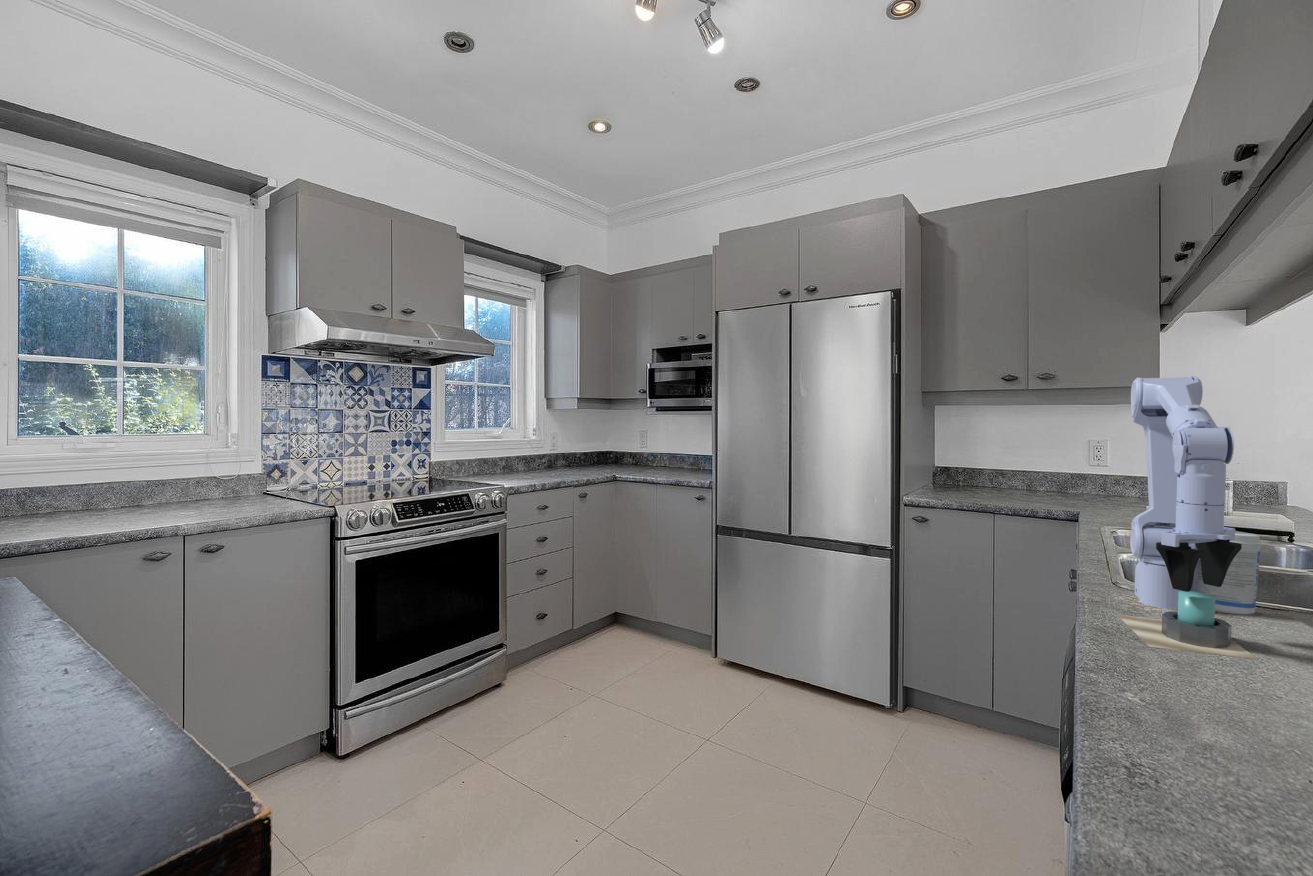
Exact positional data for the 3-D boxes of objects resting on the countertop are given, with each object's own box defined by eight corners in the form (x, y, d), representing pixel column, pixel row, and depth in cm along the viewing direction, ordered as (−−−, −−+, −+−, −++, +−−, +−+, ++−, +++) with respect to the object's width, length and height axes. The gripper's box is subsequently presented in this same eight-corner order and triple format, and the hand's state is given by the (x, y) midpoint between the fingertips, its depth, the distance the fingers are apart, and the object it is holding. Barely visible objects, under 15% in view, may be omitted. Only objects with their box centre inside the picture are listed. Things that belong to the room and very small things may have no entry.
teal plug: (1172, 631, 100) (1173, 589, 100) (1206, 635, 98) (1207, 592, 98) (1183, 640, 96) (1185, 597, 95) (1219, 645, 94) (1220, 600, 94)
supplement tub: (1269, 620, 108) (1277, 538, 107) (1211, 614, 109) (1219, 533, 108) (1224, 604, 117) (1232, 529, 117) (1171, 599, 118) (1178, 524, 118)
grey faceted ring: (1154, 626, 102) (1155, 609, 102) (1215, 633, 99) (1216, 615, 99) (1173, 643, 95) (1174, 624, 95) (1240, 651, 92) (1241, 631, 92)
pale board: (1116, 620, 108) (1117, 614, 108) (1209, 630, 103) (1209, 624, 103) (1149, 652, 94) (1149, 646, 94) (1258, 666, 89) (1259, 659, 89)
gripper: (1199, 509, 90) (1196, 599, 90) (1260, 504, 95) (1256, 590, 95) (1147, 502, 97) (1145, 586, 97) (1206, 498, 101) (1203, 578, 102)
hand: (1197, 587), depth 97 cm, fingers open, 7 cm apart
